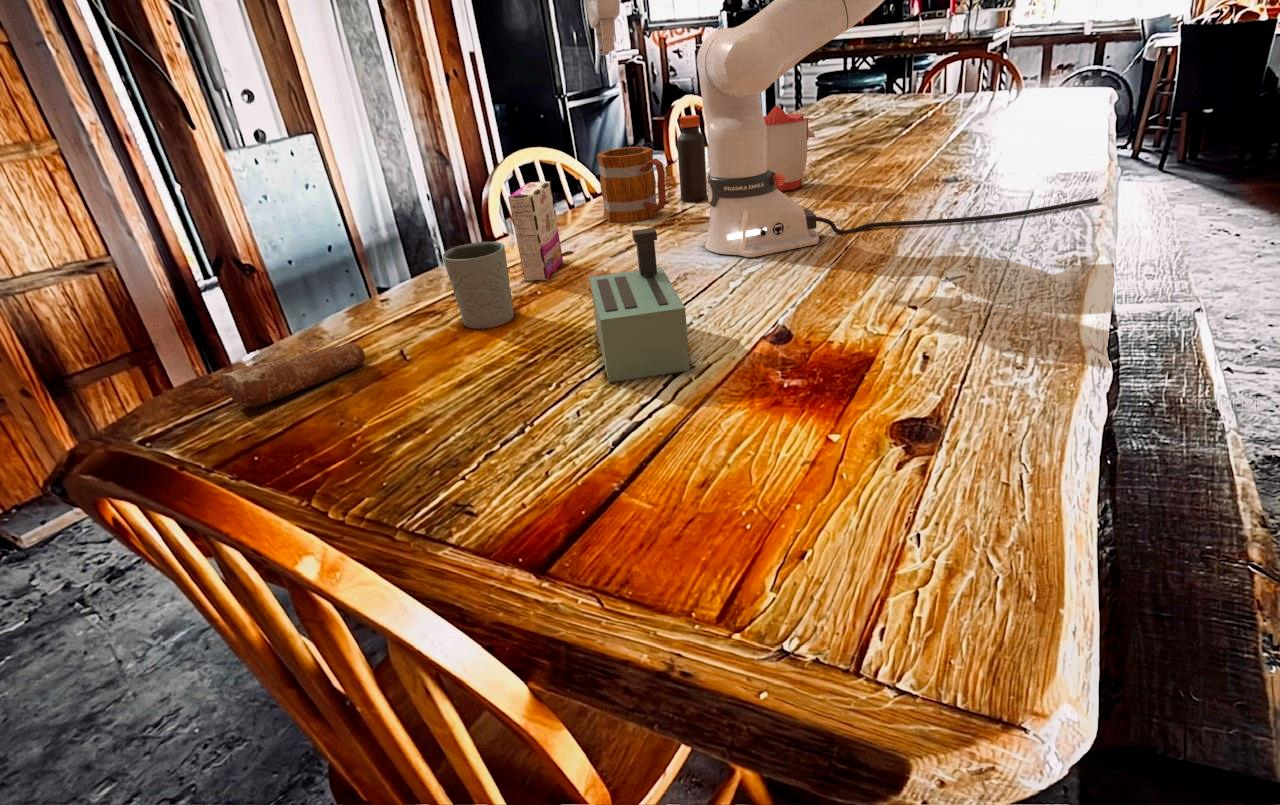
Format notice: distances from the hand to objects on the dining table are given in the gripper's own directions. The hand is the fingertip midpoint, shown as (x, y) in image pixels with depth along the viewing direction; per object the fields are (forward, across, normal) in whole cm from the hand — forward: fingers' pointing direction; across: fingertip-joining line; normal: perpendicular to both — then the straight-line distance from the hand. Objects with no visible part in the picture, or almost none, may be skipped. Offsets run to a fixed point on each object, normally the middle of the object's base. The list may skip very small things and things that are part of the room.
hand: (606, 53), depth 121 cm
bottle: (+32, +50, -24) cm, 65 cm away
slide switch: (+31, -33, -1) cm, 46 cm away
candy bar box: (+38, +5, +15) cm, 41 cm away
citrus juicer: (+32, +50, -47) cm, 76 cm away
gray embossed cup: (+40, -17, +25) cm, 50 cm away
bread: (+43, -34, +51) cm, 75 cm away
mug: (+34, +39, -8) cm, 53 cm away
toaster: (+41, -39, +2) cm, 56 cm away
